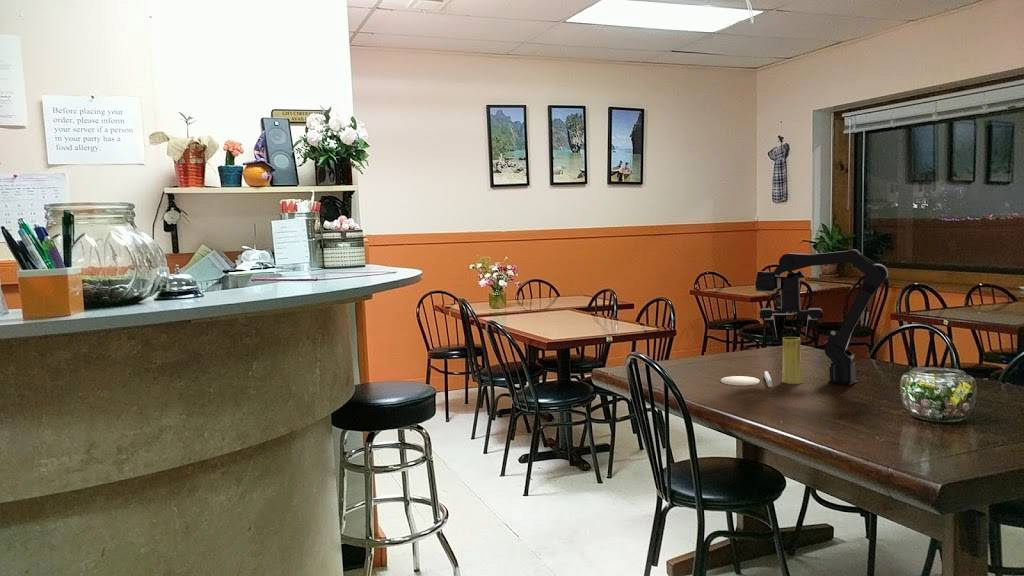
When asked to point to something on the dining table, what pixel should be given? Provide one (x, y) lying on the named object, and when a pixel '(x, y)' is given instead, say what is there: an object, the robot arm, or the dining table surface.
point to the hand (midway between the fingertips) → (791, 339)
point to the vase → (791, 361)
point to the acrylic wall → (768, 379)
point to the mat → (740, 380)
